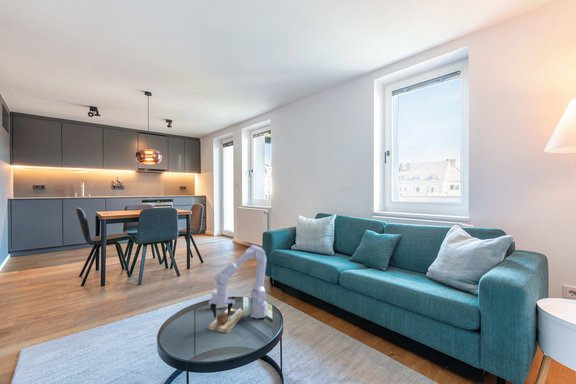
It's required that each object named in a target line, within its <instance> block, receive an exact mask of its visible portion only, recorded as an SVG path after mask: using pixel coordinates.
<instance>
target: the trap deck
mask: <svg viewBox="0 0 576 384" xmlns="http://www.w3.org/2000/svg"><path fill="white" fill-rule="evenodd" d="M226 310H227V309H225V310H224V311H223V312H225V311H226ZM237 310H238V309H237V308H231V310H230V315H229V317H228V322H227V323H226V324H225V325H219V324H217V318H215V319H214V320H213V321H212V322H211V323H210V324H209V325H208V330H211V331H217V332H222V333H229V332H230V331H231V330H232V329H233V327H234V326H235V325H236V324H237V323H238V322H239V321H240V320H241V319H242V318H243V316H244V315H245V314H246V310H242V309H241V312H240V313H239V314H238V315H237V316H236V317H235V318H234V319H233V320H232V321H230V317H231V316H232V315H233V314H234V313H235V312H236V311H237Z"/></svg>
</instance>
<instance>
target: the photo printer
mask: <svg viewBox="0 0 576 384" xmlns="http://www.w3.org/2000/svg"><path fill="white" fill-rule="evenodd" d="M227 299H229V296H228V292H227ZM211 300H217V288H216V289H214V290H212V293H211ZM223 308H228V304H222V305H219V304H216V310H217V309H223Z"/></svg>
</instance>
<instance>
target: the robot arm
mask: <svg viewBox="0 0 576 384" xmlns="http://www.w3.org/2000/svg"><path fill="white" fill-rule="evenodd" d="M250 259H252V260H255V259H256V260H257V265H256V267H257V268H256V274H255V284H254V286H253V287H252V291H251V292H250V296H251V298H252V313H251V315H250V318H253V317H254V318H255V319H259V318H258V317H265V316H266V315H267V313H269V302H267V300H266V299H267V296H266V289H265V286H264V285H265V277H266V269H267V261H268V260H267V259H268V258H267V256H266V250H264V249H263V248H262V247H259V246H257V245H255V244H253V245H250V246H249V247H248V248H246V250H245V252H244V253H243V254H241V255H240V257H238V259H237V260H235V261H234V262H231V263H229V264H227V266H226V267H225V268H224V269H223V270H221V271H219V272H217V273H216V274H215V275H216V276H215V277H214V279H215V282H216V289H217V300H212V299H211V300H209V301H208V306H209V307H210V309H211V311H212V313H213V316H214V318H217V309H216V304H219V305H222V304H228V306H227V309H228V317H229V315H230V310H231V309H233V305H235V304H236V301H235V299H229V298H228V299H227V293H228V285H227V283H228V282H229V279H230V278H231V277H232V276H233V275H234V274H235V273H236V272H238V270H239V267H240V266H241V265H242V264H243V265H244V263H245V262H247V261H248V260H250ZM267 316H268V315H267ZM267 316H266V317H267Z"/></svg>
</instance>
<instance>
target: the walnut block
mask: <svg viewBox="0 0 576 384" xmlns="http://www.w3.org/2000/svg"><path fill="white" fill-rule="evenodd" d="M216 319H217V324H219V325H225V324H226V323H227V322H228V313H225V312H224V311H220V312H219V313H218V314H216Z"/></svg>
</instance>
